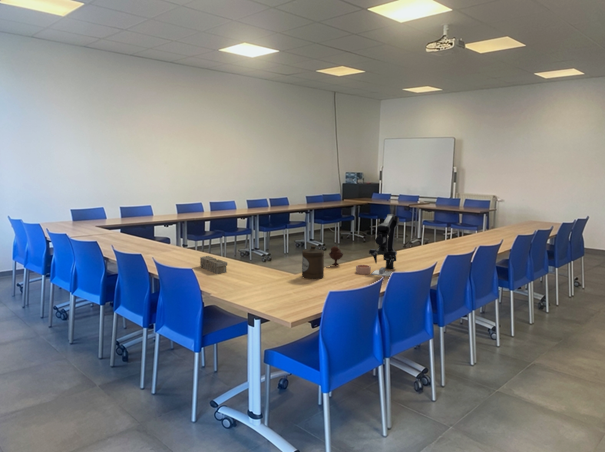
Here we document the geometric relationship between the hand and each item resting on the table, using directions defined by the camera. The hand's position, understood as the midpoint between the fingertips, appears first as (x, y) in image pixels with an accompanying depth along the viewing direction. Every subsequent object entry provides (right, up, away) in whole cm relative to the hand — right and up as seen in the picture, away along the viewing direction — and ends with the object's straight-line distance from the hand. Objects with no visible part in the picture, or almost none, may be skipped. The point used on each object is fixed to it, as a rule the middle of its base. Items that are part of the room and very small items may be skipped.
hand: (382, 264), depth 305 cm
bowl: (-13, -7, +3) cm, 15 cm away
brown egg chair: (-31, -3, +27) cm, 41 cm away
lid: (0, -7, +1) cm, 7 cm away
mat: (0, -7, +1) cm, 7 cm away
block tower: (-122, -5, +6) cm, 122 cm away
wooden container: (-50, -8, -10) cm, 51 cm away
